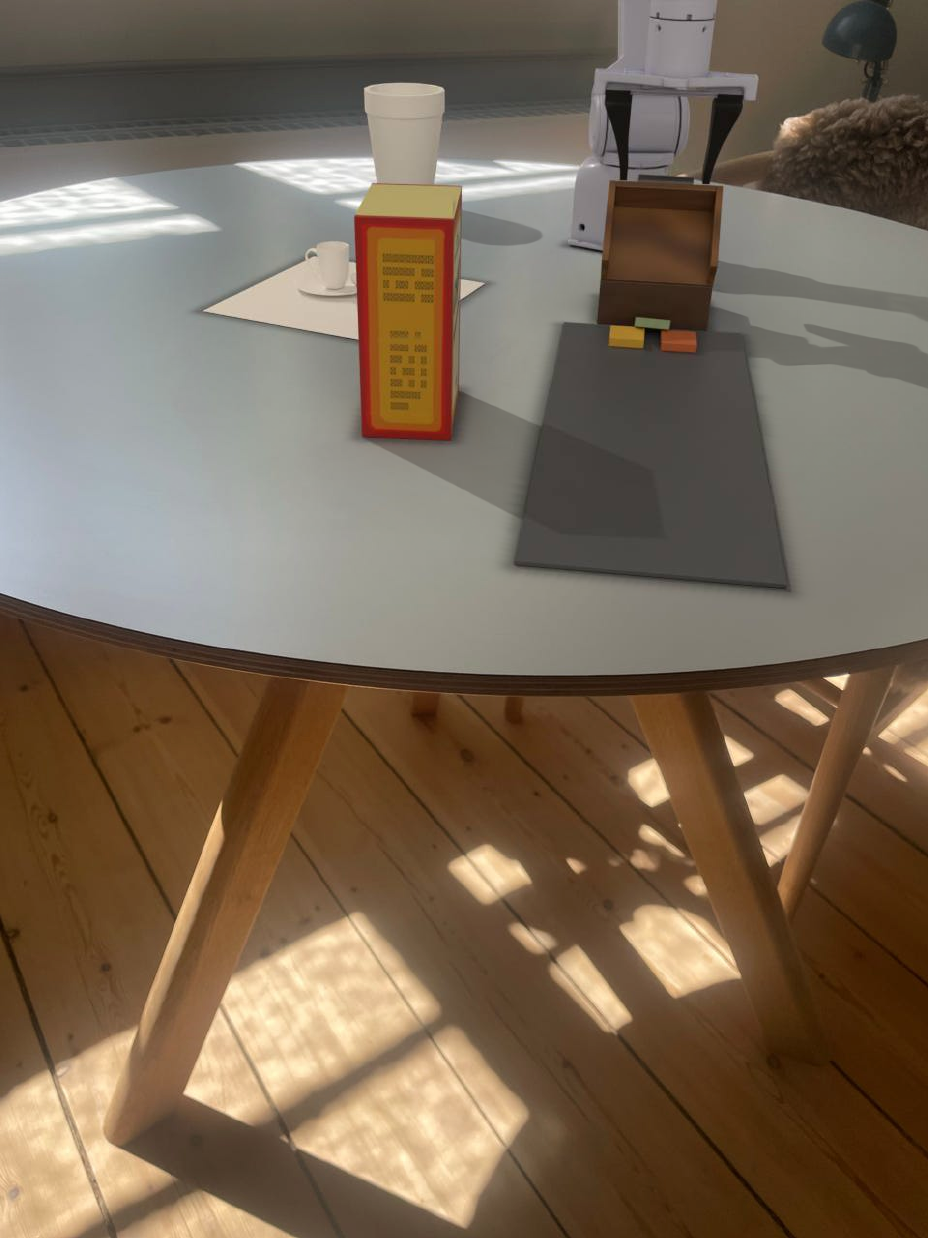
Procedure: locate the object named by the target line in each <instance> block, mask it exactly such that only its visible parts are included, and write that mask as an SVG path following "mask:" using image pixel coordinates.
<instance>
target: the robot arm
mask: <svg viewBox="0 0 928 1238" xmlns="http://www.w3.org/2000/svg"><path fill="white" fill-rule="evenodd" d="M717 5H718V0H617V60H616V61H614V62H613V63H612V64H611V65H610V66H608V67H607V68H595V71H594V80H593V86H592V89H591V96H590V97H591V98H590V109H589V116H588V117H589V118H588V145H589V151H590V152H591V153H592V155H590V156H587V157H586V158H585V159H584V160H583V161H582V162H581V164H580V166H579V168H578V172H577V174H576V178H575V183H574V193H573V205H572V206H573V207H572V223H571V238H569V239H568V240H567V244H568V245H571V246H575V247H581V248H586V249H592V250H597V251H601V252H603V243H604V232H605V222H606V212H607V202H608V192H609V181H610V180H615V181H635V182H638V175H639V174H642V175H662V176H669V166H673V165H674V160H675V158H679V157H680V156H681V154H683V152H684V151H685V149H686V147H687V143H688V141H689V140H688V139H689V134H690V125H691V108H690V102H689V99H688V98H703V99H704V98H705V99H706V98H707V99H713V100H712V101H711V112H710V121H709V130H708V138H707V139H708V140H707V145H706V150H705V154H704V158H703V159H704V160H703V164H702V169H701V185H711V179H712V176H713V172H714V169H715V166H716V164H717V161H718V158H719V155H720V154H721V151H722V149H723V146H724V145H725V142H726V141H727V138H728V137H729V135H730V133H731V131H732V129H733V127H734V126H735V124H736V123H737V121H738V119H739V117H740V115H741V114H742V111H743V109H744V104H743V102H744V101H748V102H756V99H757V92H758V85H759V79H760V78H759V76H758V74H757V73H754V74H753V73H737V72H725V71H715V70H714V71H713V70H710V63H711V55H712V54H711V53H712V47H713V38H714V29H715V22H716V14H717V7H718V6H717ZM694 88H695V89H694Z"/></svg>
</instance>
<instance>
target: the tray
mask: <svg viewBox="0 0 928 1238" xmlns="http://www.w3.org/2000/svg"><path fill="white" fill-rule="evenodd" d="M723 199H724V185H715V184H713V185H712V184H695V177H694V176H682V175H681V176H680V175H668V176H662V175H642V174H639V175H638V182H635V181H615V180H610V181H609V192H608V202H607V212H606V222H605V232H604V243H603V251H602V253H601V264H600V265H601V267H600V281H601V280H609V281H625V282H642V283H659V284H676V285H693V286H710V287H713V288H714V284H715V279H716V275H717V271H718V269H719V268H718V267H719V259H720V256H719V255H720V245H721V243H720V241H721V229H722V228H721V227H722V215H723V201H724V200H723Z"/></svg>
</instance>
